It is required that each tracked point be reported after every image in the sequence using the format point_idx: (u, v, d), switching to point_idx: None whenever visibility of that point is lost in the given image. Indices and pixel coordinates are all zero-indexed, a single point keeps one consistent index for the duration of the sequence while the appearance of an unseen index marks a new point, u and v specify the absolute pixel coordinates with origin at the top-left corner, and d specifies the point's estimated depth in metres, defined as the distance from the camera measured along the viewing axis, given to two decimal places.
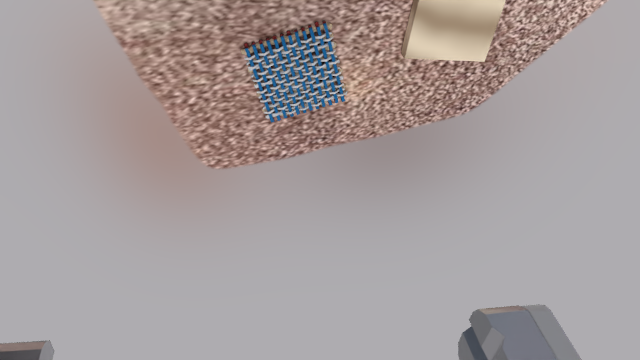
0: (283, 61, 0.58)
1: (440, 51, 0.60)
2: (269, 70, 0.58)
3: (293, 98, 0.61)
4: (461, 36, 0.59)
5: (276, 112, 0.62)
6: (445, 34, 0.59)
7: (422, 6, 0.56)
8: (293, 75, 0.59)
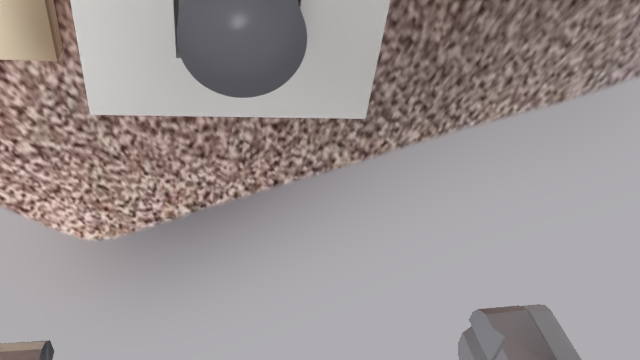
0: None
1: None
2: None
3: None
4: None
5: None
6: None
7: None
8: None
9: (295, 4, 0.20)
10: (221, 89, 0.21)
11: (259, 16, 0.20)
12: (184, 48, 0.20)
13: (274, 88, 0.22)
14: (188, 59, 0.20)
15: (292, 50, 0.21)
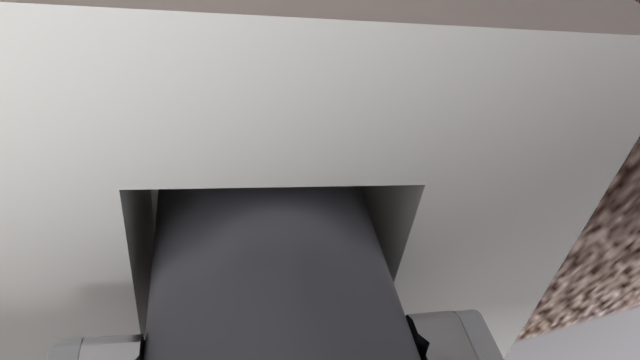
0: None
1: None
2: None
3: None
4: None
5: None
6: None
7: None
8: None
9: None
10: None
11: None
12: None
13: None
14: None
15: None
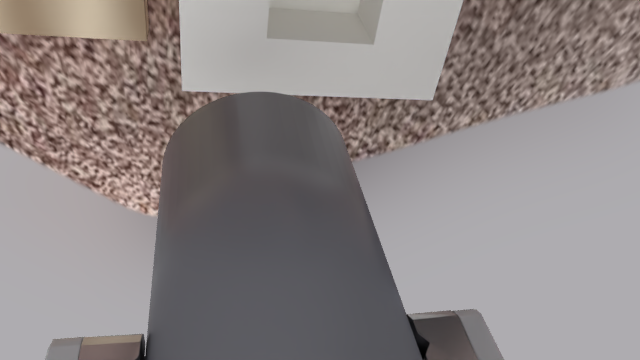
0: None
1: None
2: None
3: None
4: None
5: None
6: None
7: None
8: None
9: None
10: None
11: None
12: None
13: None
14: None
15: None
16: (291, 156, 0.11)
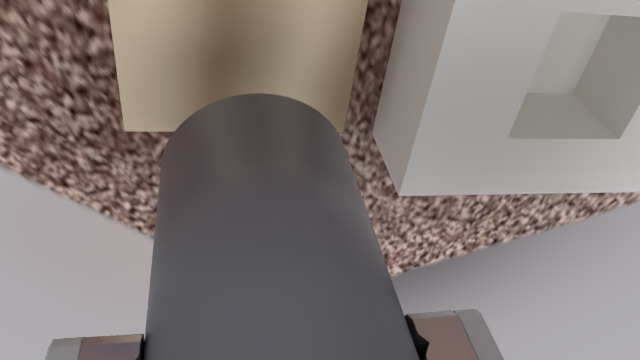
0: None
1: (135, 2, 0.20)
2: None
3: None
4: (189, 53, 0.21)
5: None
6: (192, 5, 0.20)
7: None
8: None
9: None
10: None
11: None
12: None
13: None
14: None
15: None
16: (289, 158, 0.11)
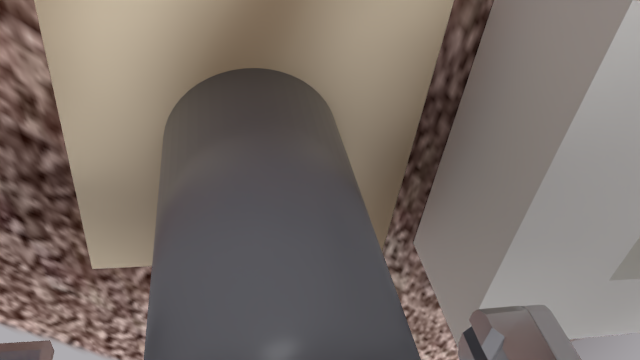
0: None
1: (100, 119, 0.14)
2: None
3: None
4: None
5: None
6: None
7: None
8: None
9: (409, 348, 0.09)
10: None
11: None
12: None
13: None
14: None
15: None
16: (282, 124, 0.12)
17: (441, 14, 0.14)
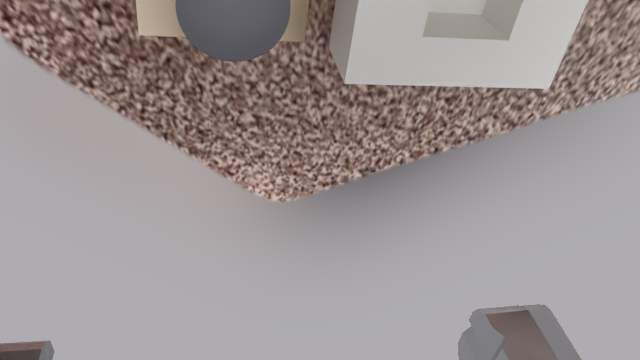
0: None
1: None
2: None
3: None
4: None
5: None
6: None
7: None
8: None
9: None
10: (215, 53, 0.24)
11: None
12: (182, 15, 0.23)
13: (262, 53, 0.25)
14: (186, 25, 0.23)
15: (277, 18, 0.24)
16: None
17: None
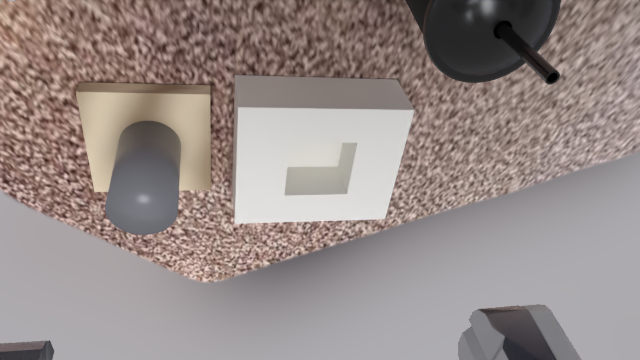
0: None
1: (97, 137, 0.43)
2: None
3: None
4: None
5: None
6: None
7: (159, 99, 0.42)
8: None
9: (168, 192, 0.37)
10: (133, 231, 0.39)
11: (148, 199, 0.38)
12: (110, 214, 0.38)
13: (163, 228, 0.40)
14: (113, 219, 0.38)
15: (170, 212, 0.39)
16: (150, 139, 0.41)
17: (207, 103, 0.42)
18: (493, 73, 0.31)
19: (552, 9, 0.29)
